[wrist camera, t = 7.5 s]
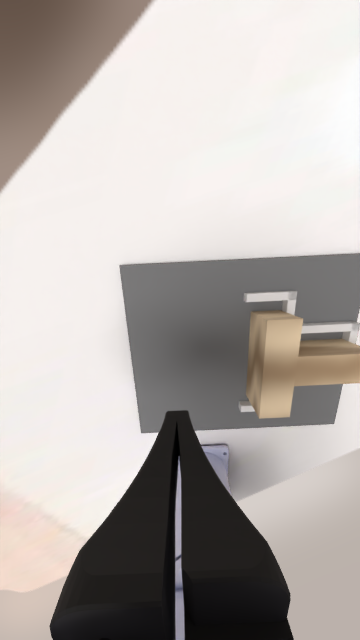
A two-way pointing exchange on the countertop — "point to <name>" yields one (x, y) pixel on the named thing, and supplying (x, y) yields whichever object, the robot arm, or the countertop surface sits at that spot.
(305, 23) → the countertop surface
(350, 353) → the maple t block
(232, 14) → the countertop surface
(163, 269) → the nest mat
